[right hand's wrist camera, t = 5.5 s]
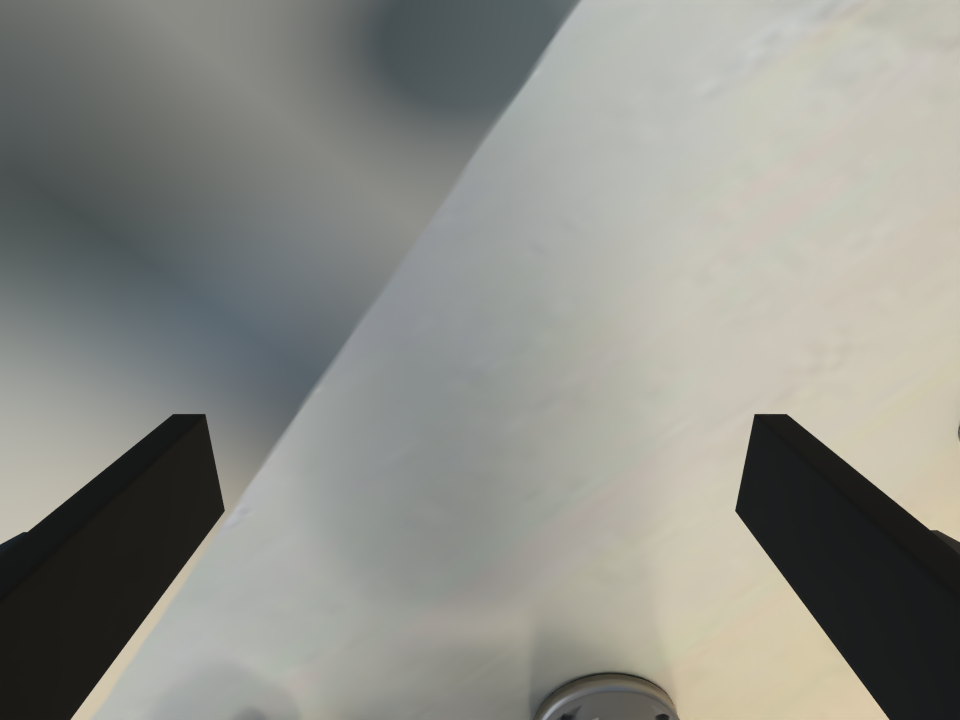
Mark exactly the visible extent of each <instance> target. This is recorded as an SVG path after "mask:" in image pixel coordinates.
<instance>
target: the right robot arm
mask: <svg viewBox="0 0 960 720" xmlns="http://www.w3.org/2000/svg"><path fill="white" fill-rule="evenodd" d="M224 511H225V510H224V505H223V500H222V495H221V490H220V485H219V480H218V475H217V470H216V465H215V460H214V455H213V450H212V445H211V440H210V435H209V430H208V425H207V420H206V415H205V414H173V415H172V416H170V417H169V418H168V419H167V420H166V421H164V422H163V423H162V424H161V425H159V426H158V427H157V428H156V429H154V430H153V431H152V432H151V433H149V434H148V435H147V436H146V437H145V438H143V439H142V440H141V441H140V442H138V443H137V444H136V445H135V446H133V447H132V448H131V449H130V450H128V451H127V452H126V453H125V454H123V455H122V456H121V457H120V458H119V459H117V460H116V461H115V462H114V463H112V464H111V465H110V466H109V467H107V468H106V469H105V470H104V471H103V472H101V473H100V474H99V475H98V476H96V477H95V478H94V479H93V480H91V481H90V482H89V483H88V484H86V485H85V486H84V487H83V488H82V489H80V490H79V491H78V492H77V493H75V494H74V495H73V496H72V497H70V498H69V499H68V500H67V501H65V502H64V503H63V504H62V505H61V506H59V507H58V508H57V509H56V510H54V511H53V512H52V513H51V514H49V515H48V516H47V517H46V518H45V519H43V520H42V521H41V522H40V523H38V524H37V525H36V526H35V527H33V528H32V529H31V530H30V531H28V532H23V533H21V534H19V535H17V536H15V537H13V538H12V539H10V540H8V541H6V542H4V543H2V544H1V545H0V720H71V718H72V717H73V715H74V714H75V713H76V711H77V710H78V709H79V707H80V706H81V705H82V703H83V702H84V701H85V699H86V698H87V696H88V695H89V694H90V692H91V691H92V690H93V688H94V687H95V686H96V684H97V683H98V682H99V680H100V679H101V678H102V676H103V675H104V674H105V672H106V671H107V670H108V668H109V667H110V665H111V664H112V663H113V661H114V660H115V659H116V657H117V656H118V655H119V653H120V652H121V651H122V649H123V648H124V647H125V645H126V644H127V642H128V641H129V640H130V638H131V637H132V636H133V634H134V633H135V632H136V630H137V629H138V628H139V626H140V625H141V624H142V622H143V621H144V619H145V618H146V617H147V615H148V614H149V613H150V611H151V610H152V609H153V607H154V606H155V605H156V603H157V602H158V601H159V599H160V598H161V596H162V595H163V594H164V592H165V591H166V590H167V588H168V587H169V586H170V584H171V583H172V582H173V580H174V579H175V578H176V576H177V575H178V573H179V572H180V571H181V569H182V568H183V567H184V565H185V564H186V563H187V561H188V560H189V559H190V557H191V556H192V555H193V553H194V552H195V551H196V549H197V548H198V546H199V545H200V544H201V542H202V541H203V540H204V538H205V537H206V536H207V534H208V533H209V532H210V530H211V529H212V528H213V526H214V525H215V523H216V522H217V521H218V519H219V518H220V517H221V515H222V514H223V513H224ZM735 511H736V513H737V514H738V515H739V517H740V518H741V519H742V521H743V522H744V523H745V525H746V526H747V528H748V529H749V530H750V532H751V533H752V534H753V536H754V537H755V538H756V540H757V541H758V542H759V544H760V545H761V546H762V548H763V549H764V551H765V552H766V553H767V555H768V556H769V557H770V559H771V560H772V561H773V563H774V564H775V565H776V567H777V568H778V569H779V571H780V572H781V574H782V575H783V576H784V578H785V579H786V580H787V582H788V583H789V584H790V586H791V587H792V588H793V590H794V591H795V592H796V594H797V595H798V596H799V598H800V599H801V601H802V602H803V603H804V605H805V606H806V607H807V609H808V610H809V611H810V613H811V614H812V615H813V617H814V618H815V619H816V621H817V622H818V624H819V625H820V626H821V628H822V629H823V630H824V632H825V633H826V634H827V636H828V637H829V638H830V640H831V641H832V642H833V644H834V645H835V647H836V648H837V649H838V651H839V652H840V653H841V655H842V656H843V657H844V659H845V660H846V661H847V663H848V664H849V665H850V667H851V668H852V670H853V671H854V672H855V674H856V675H857V676H858V678H859V679H860V680H861V682H862V683H863V684H864V686H865V687H866V688H867V690H868V691H869V692H870V694H871V695H872V697H873V698H874V699H875V701H876V702H877V703H878V705H879V706H880V707H881V709H882V710H883V711H884V713H885V714H886V715H887V717H888V718H889V720H960V542H958V541H956V540H954V539H953V538H951V537H949V536H947V535H945V534H943V533H941V532H939V531H938V530H929V529H928V528H927V527H925V526H924V525H923V524H922V523H920V522H919V521H918V520H917V519H916V518H914V517H913V516H912V515H911V514H909V513H908V512H907V511H906V510H904V509H903V508H902V507H901V506H900V505H898V504H897V503H896V502H895V501H893V500H892V499H891V498H890V497H888V496H887V495H886V494H885V493H883V492H882V491H881V490H880V489H879V488H877V487H876V486H875V485H874V484H872V483H871V482H870V481H869V480H867V479H866V478H865V477H864V476H862V475H861V474H860V473H859V472H858V471H856V470H855V469H854V468H853V467H851V466H850V465H849V464H848V463H846V462H845V461H844V460H843V459H841V458H840V457H839V456H838V455H837V454H835V453H834V452H833V451H832V450H830V449H829V448H828V447H827V446H825V445H824V444H823V443H822V442H820V441H819V440H818V439H817V438H816V437H814V436H813V435H812V434H811V433H809V432H808V431H807V430H806V429H804V428H803V427H802V426H801V425H799V424H798V423H797V422H796V421H795V420H793V419H792V418H791V417H790V416H788V415H787V414H755V415H754V420H753V425H752V430H751V435H750V440H749V445H748V450H747V455H746V460H745V465H744V470H743V475H742V480H741V485H740V490H739V495H738V500H737V505H736V510H735ZM535 720H679V717H678V714H677V712H676V709H675V706H674V704H673V702H672V701H671V699H670V698H669V697H668V696H667V694H666V693H665V692H663V691H662V690H661V689H660V688H658V687H657V686H655V685H654V684H652V683H650V682H648V681H645V680H643V679H640V678H636V677H632V676H627V675H618V674H604V675H596V676H590V677H586V678H582V679H579V680H576V681H574V682H571V683H569V684H567V685H565V686H563V687H561V688H560V689H558V690H557V691H555V692H554V693H553V694H551V695H550V696H549V697H548V698H547V699H546V700H545V701H544V702H543V704H542V705H541V707H540V708H539V710H538V712H537V714H536V717H535Z"/></svg>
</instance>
